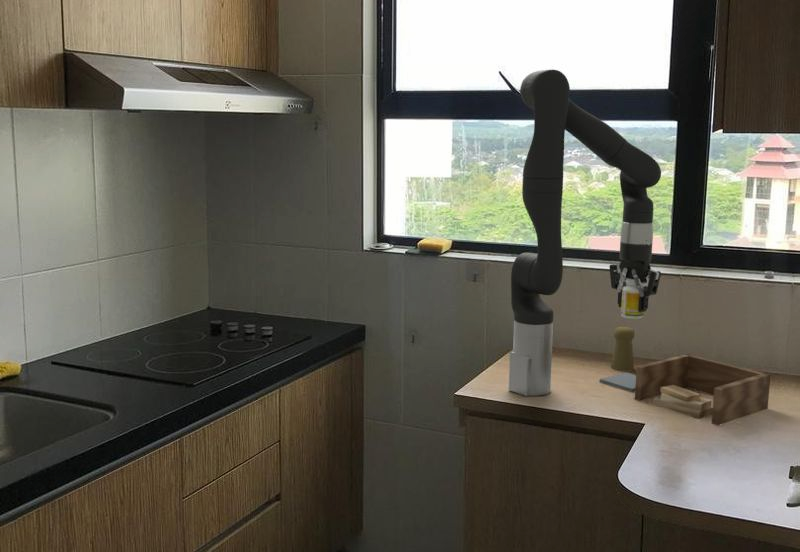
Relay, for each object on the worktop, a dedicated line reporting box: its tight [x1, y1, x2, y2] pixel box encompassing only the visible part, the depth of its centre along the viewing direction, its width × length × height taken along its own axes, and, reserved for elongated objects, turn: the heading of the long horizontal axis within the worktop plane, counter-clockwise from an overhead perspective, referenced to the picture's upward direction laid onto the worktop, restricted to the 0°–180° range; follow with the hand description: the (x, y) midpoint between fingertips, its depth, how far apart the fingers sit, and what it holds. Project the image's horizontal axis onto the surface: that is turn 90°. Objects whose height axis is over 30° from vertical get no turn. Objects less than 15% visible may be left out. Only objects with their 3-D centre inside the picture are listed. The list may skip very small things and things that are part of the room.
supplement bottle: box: [620, 278, 644, 320], centre depth 216 cm, size 5×5×10 cm
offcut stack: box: [653, 385, 713, 419], centre depth 200 cm, size 6×12×4 cm, turn 37°
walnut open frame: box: [634, 353, 771, 426], centre depth 204 cm, size 20×22×8 cm
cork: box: [610, 326, 635, 372], centre depth 232 cm, size 6×6×11 cm
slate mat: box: [599, 371, 636, 393], centre depth 219 cm, size 10×10×1 cm
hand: (632, 309), depth 216 cm, fingers closed on supplement bottle, 5 cm apart
